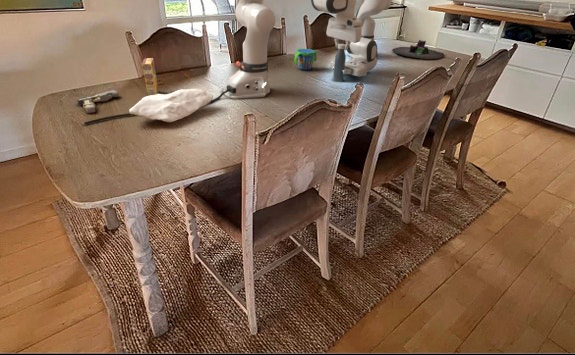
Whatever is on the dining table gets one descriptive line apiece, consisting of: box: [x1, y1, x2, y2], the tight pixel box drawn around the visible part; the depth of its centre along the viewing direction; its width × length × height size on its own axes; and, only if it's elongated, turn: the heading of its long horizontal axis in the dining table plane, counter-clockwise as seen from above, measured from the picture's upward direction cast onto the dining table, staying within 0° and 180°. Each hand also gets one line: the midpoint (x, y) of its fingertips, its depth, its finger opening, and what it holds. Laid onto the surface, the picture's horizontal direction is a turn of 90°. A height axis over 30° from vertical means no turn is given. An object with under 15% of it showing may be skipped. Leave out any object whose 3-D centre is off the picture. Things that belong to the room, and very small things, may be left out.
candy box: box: [141, 57, 160, 96], centre depth 163 cm, size 9×4×15 cm, turn 13°
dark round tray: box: [391, 39, 445, 60], centre depth 250 cm, size 35×35×9 cm
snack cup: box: [293, 48, 318, 71], centre depth 208 cm, size 16×10×10 cm
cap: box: [337, 43, 346, 50], centre depth 186 cm, size 4×4×2 cm
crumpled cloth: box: [128, 88, 214, 123], centre depth 147 cm, size 24×35×9 cm
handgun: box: [76, 89, 120, 114], centre depth 155 cm, size 3×18×15 cm
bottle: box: [332, 49, 347, 83], centre depth 191 cm, size 6×6×18 cm
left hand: (341, 48), depth 187 cm, fingers closed on cap, 4 cm apart
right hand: (338, 70), depth 192 cm, fingers closed on bottle, 5 cm apart
